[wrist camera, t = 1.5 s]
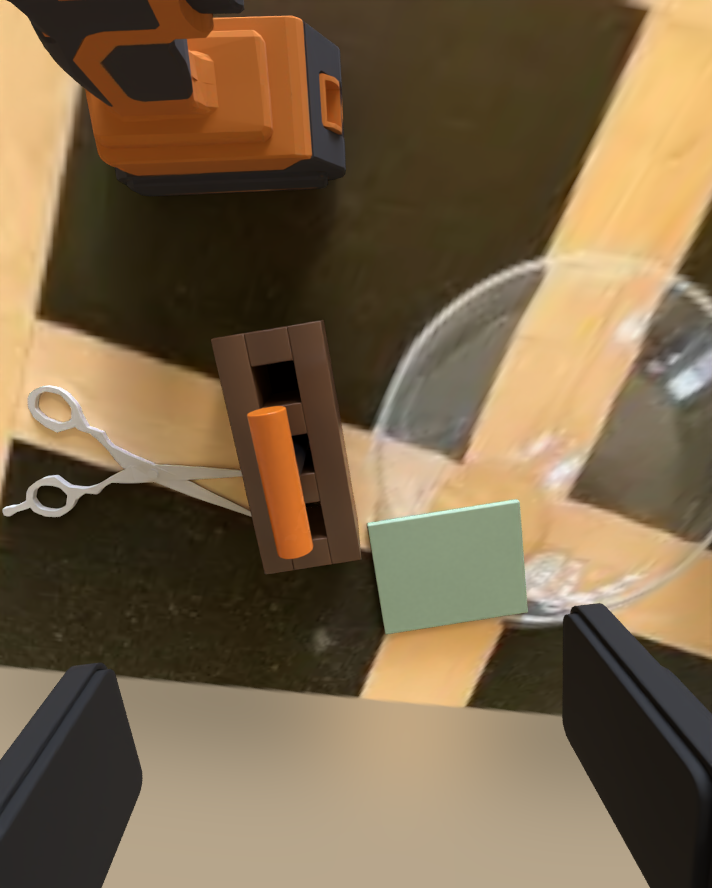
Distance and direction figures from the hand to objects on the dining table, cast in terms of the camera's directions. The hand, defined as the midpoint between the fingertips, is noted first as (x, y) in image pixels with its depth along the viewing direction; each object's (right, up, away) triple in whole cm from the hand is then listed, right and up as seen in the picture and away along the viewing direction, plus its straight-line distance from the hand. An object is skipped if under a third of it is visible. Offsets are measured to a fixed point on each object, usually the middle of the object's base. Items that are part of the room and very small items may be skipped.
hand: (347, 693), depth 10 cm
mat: (+8, -5, +30) cm, 31 cm away
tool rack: (-4, +6, +27) cm, 28 cm away
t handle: (-4, +6, +27) cm, 28 cm away
